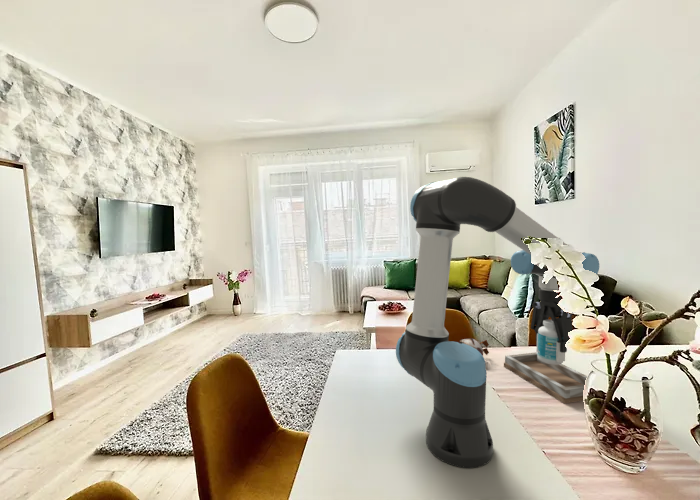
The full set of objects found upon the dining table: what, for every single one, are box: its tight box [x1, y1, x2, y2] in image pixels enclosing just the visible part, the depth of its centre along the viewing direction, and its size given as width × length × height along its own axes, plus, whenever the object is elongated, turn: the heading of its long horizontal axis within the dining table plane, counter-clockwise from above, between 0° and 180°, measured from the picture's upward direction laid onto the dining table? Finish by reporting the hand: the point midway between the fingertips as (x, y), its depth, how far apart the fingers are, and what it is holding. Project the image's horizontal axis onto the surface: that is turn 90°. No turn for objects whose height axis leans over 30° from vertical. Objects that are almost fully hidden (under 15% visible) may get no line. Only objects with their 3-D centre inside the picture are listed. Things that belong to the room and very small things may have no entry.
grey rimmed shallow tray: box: [503, 352, 588, 404], centre depth 109 cm, size 26×15×4 cm, turn 12°
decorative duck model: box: [458, 338, 490, 357], centre depth 127 cm, size 15×8×15 cm
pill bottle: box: [537, 319, 564, 365], centre depth 108 cm, size 8×7×14 cm
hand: (550, 356), depth 108 cm, fingers closed on pill bottle, 7 cm apart
